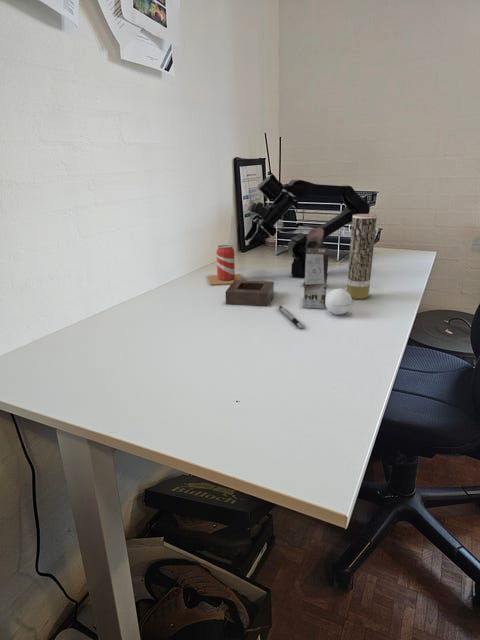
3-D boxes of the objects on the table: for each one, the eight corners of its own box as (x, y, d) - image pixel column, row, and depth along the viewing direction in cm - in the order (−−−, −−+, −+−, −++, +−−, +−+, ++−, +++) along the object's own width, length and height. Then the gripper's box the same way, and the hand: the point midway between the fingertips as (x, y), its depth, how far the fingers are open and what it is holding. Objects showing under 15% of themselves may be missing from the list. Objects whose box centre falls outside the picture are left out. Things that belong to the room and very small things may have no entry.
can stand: (273, 293, 131) (273, 281, 130) (268, 306, 119) (268, 293, 118) (235, 291, 134) (234, 279, 132) (225, 304, 122) (225, 291, 121)
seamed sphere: (324, 318, 109) (326, 292, 107) (323, 309, 116) (325, 284, 114) (362, 319, 108) (365, 293, 105) (359, 310, 115) (361, 285, 112)
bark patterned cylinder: (368, 294, 128) (377, 214, 119) (367, 300, 122) (376, 217, 113) (347, 292, 131) (353, 213, 121) (345, 298, 125) (351, 216, 115)
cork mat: (239, 274, 154) (239, 273, 154) (244, 283, 143) (244, 282, 143) (208, 276, 152) (208, 275, 152) (210, 285, 141) (210, 284, 141)
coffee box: (325, 309, 116) (328, 254, 110) (302, 308, 117) (305, 253, 111) (325, 299, 124) (328, 247, 119) (304, 298, 126) (306, 247, 120)
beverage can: (236, 280, 145) (235, 247, 141) (218, 281, 144) (217, 248, 140) (233, 276, 151) (232, 244, 146) (216, 277, 150) (215, 245, 145)
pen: (282, 309, 117) (282, 305, 116) (304, 330, 102) (305, 325, 101) (278, 309, 117) (278, 305, 116) (300, 330, 102) (300, 326, 101)
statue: (325, 284, 139) (329, 226, 132) (320, 290, 133) (324, 229, 126) (306, 282, 142) (309, 225, 135) (300, 288, 136) (303, 228, 129)
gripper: (256, 191, 146) (227, 223, 149) (267, 194, 129) (234, 230, 132) (277, 212, 150) (248, 243, 153) (290, 218, 133) (257, 253, 136)
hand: (247, 242), depth 143 cm, fingers open, 9 cm apart
